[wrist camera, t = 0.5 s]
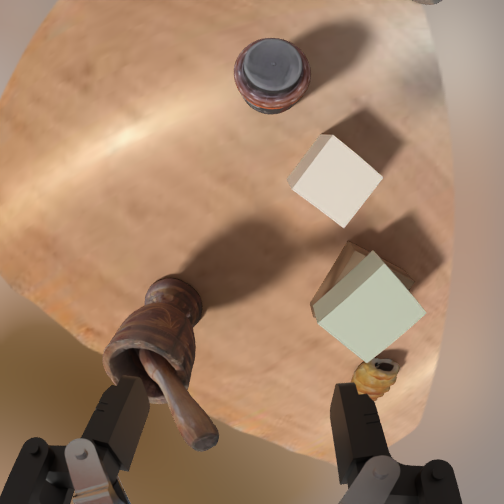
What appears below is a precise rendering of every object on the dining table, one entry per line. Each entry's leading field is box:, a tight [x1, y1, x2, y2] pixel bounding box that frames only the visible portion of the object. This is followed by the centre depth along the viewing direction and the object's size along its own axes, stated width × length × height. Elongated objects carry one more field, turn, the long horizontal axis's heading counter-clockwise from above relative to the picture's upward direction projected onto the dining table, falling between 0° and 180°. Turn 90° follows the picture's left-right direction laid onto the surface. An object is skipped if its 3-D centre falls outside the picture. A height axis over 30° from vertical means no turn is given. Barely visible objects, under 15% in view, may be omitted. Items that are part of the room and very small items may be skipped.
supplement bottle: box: [234, 38, 311, 114], centre depth 23 cm, size 6×6×11 cm
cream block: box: [287, 134, 383, 228], centre depth 29 cm, size 6×6×6 cm
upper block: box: [313, 250, 426, 363], centre depth 32 cm, size 9×9×4 cm
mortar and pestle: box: [103, 278, 219, 451], centre depth 28 cm, size 12×9×20 cm
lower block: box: [310, 241, 414, 318], centre depth 35 cm, size 9×9×4 cm
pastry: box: [351, 358, 399, 401], centre depth 41 cm, size 9×7×4 cm
